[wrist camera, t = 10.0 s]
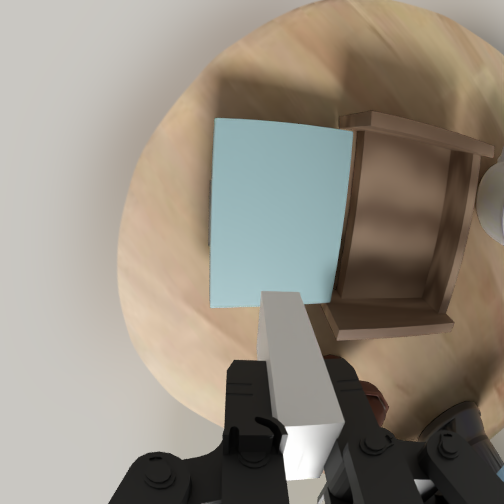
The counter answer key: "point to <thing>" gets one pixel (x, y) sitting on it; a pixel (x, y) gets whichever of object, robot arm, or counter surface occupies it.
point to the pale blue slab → (275, 210)
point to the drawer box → (404, 227)
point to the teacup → (492, 201)
